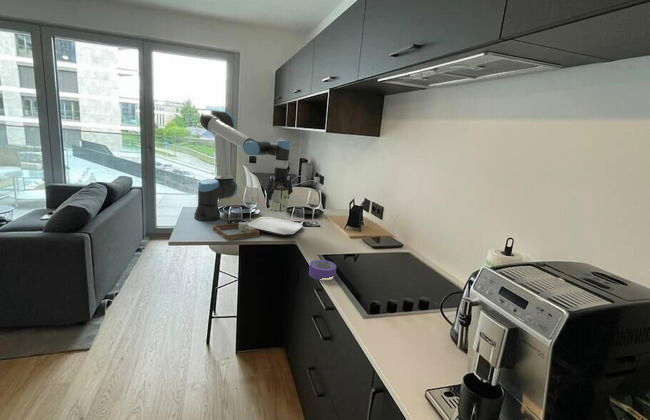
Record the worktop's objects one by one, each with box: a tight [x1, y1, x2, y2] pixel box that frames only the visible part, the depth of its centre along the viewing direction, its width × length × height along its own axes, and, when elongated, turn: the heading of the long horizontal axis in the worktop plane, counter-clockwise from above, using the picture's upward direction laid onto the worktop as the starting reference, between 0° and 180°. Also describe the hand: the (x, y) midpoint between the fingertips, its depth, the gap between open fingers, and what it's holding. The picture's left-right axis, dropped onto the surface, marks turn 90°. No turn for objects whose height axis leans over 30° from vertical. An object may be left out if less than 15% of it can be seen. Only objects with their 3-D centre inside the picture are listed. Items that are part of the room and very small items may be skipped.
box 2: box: [244, 226, 255, 233], centre depth 189 cm, size 4×4×4 cm
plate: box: [246, 216, 304, 236], centre depth 203 cm, size 29×29×2 cm
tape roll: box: [308, 259, 337, 281], centre depth 148 cm, size 12×12×5 cm
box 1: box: [237, 221, 248, 232], centre depth 194 cm, size 4×4×4 cm
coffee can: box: [269, 184, 289, 213], centre depth 199 cm, size 10×10×14 cm
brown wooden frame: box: [212, 222, 261, 241], centre depth 188 cm, size 18×19×2 cm
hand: (278, 204), depth 200 cm, fingers closed on coffee can, 10 cm apart
